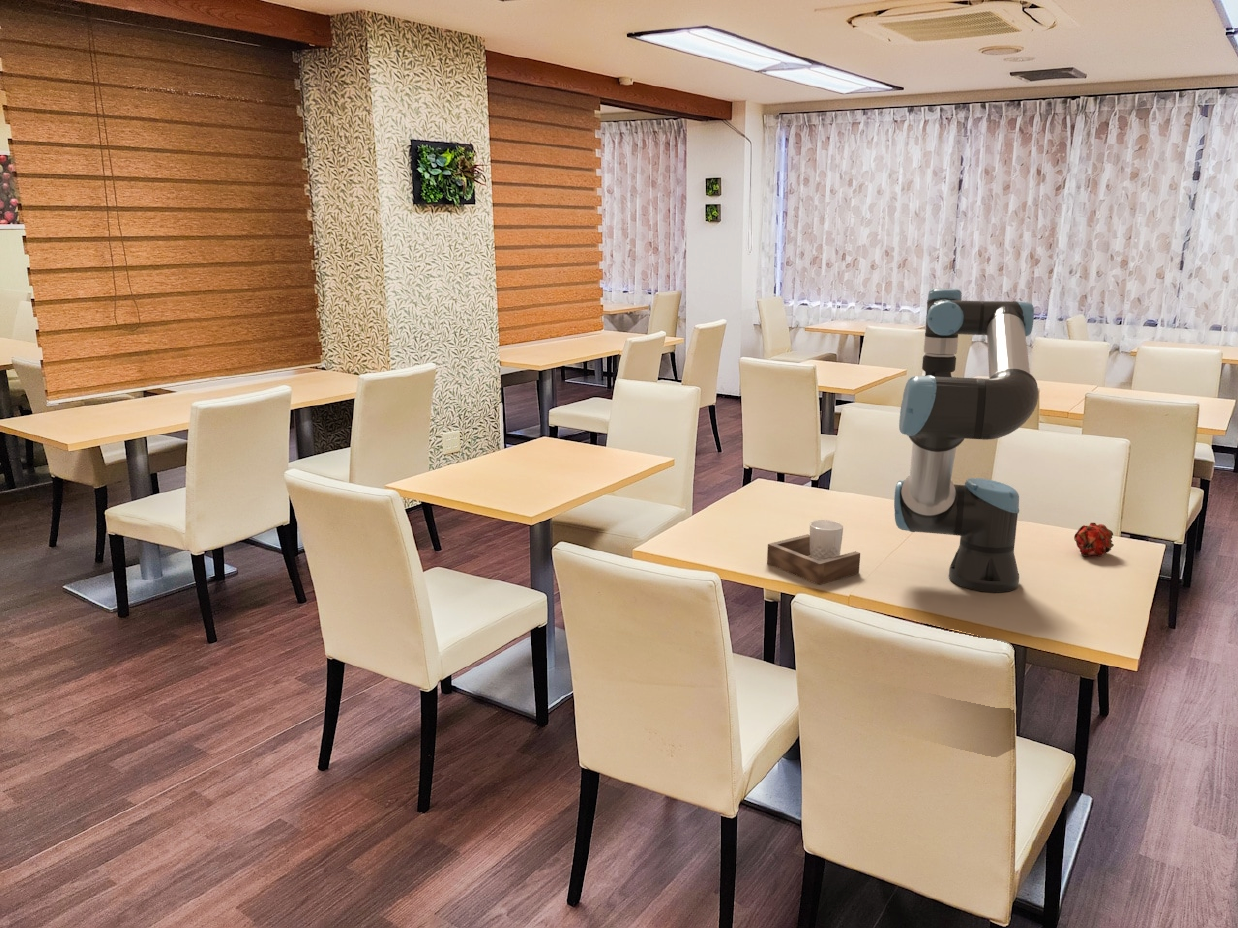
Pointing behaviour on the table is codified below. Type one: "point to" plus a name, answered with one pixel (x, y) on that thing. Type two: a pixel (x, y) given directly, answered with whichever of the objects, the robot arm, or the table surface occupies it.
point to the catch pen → (810, 561)
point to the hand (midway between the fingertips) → (931, 451)
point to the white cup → (825, 539)
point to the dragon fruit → (1094, 539)
